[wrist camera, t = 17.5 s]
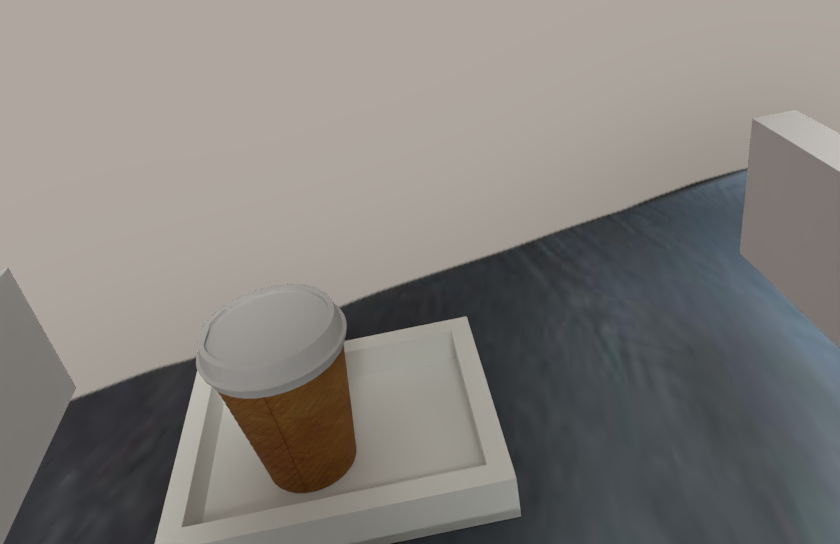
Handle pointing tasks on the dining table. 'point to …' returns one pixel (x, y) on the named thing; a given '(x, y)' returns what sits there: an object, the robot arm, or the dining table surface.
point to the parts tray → (358, 455)
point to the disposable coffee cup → (284, 381)
